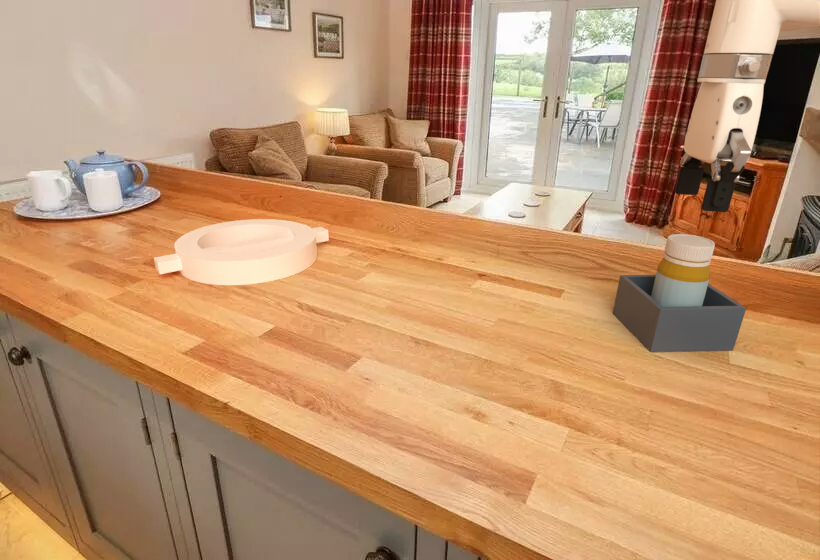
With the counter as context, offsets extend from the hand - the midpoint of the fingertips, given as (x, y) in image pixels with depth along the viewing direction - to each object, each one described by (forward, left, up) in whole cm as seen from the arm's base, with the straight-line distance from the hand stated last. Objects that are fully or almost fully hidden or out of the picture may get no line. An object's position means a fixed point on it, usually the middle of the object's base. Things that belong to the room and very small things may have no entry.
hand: (698, 202), depth 69 cm
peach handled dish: (+73, -34, -21) cm, 83 cm away
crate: (0, 0, -21) cm, 21 cm away
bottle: (0, 0, -21) cm, 21 cm away
